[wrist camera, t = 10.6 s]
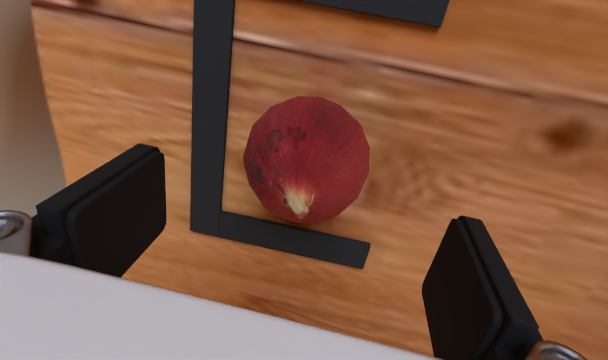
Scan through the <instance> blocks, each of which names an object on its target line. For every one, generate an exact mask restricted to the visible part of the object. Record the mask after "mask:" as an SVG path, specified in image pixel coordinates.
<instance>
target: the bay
mask: <svg viewBox="0 0 608 360" xmlns="http://www.w3.org/2000/svg"><path fill="white" fill-rule="evenodd" d="M298 1H303V2H309V3H314V4H319V5H324V6H330V7H335V8H340V9H346V10H351V11H356V12H362V13H367V14H372V15H378V16H383V17H388V18H393V19H399V20H404V21H409V22H415V23H420V24H425V25H431V26H436V27H441V25H442V22H443V18H444V15H445V12H446V9H447V6H448V3H449V0H298ZM234 8H235V0H194V33H193V93H192V153H191V214H190V231H194V232H198V233H203V234H207V235H212V236H216V237H221V238H225V239H230V240H234V241H239V242H243V243H248V244H252V245H257V246H261V247H265V248H270V249H274V250H279V251H283V252H288V253H292V254H297V255H301V256H306V257H310V258H315V259H319V260H324V261H328V262H333V263H337V264H342V265H346V266H351V267H355V268H360V269H363V267H364V264H365V261H366V258H367V255H368V252H369V249H370V243H367V242H362V241H357V240H353V239H348V238H344V237H339V236H335V235H330V234H326V233H321V232H316V231H312V230H307V229H303V228H298V227H294V226H289V225H284V224H280V223H275V222H271V221H266V220H262V219H257V218H253V217H248V216H243V215H239V214H234V213H230V212H225V211H221V206H222V191H223V176H224V160H225V145H226V130H227V115H228V99H229V84H230V69H231V53H232V38H233V23H234Z"/></svg>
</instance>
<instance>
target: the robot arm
mask: <svg viewBox="0 0 608 360" xmlns="http://www.w3.org/2000/svg"><path fill="white" fill-rule="evenodd" d="M36 209H37V213H38V214H37V215H35V216H34V217H32V218H31V217H30V216H29V215H28V214H26V213H24V212H20V211H13V210H4V211H0V360H587V359H586V358H585V357H583V356H582V355H581V354H580V353H578V352H576V351H575V350H573V349H571V348H569V347H568V346H565V345H563V344H560V343H558V342H554V341H548V340H546V341H544V340H543V338H542V336H541V335H540V333H539V331H538V328H539V326H538V324H537V323H536V321H535V319H534V317H533V315H532V313H531V311H530V310H529V308H528V306H527V304H526V302H525V300H524V298H523V296H522V295H521V293H520V291H519V289H518V287H517V285H516V283H515V282H514V280H513V278H512V276H511V274H510V272H509V270H508V269H507V267H506V265H505V263H504V261H503V259H502V257H501V255H500V254H499V252H498V250H497V248H496V246H495V244H494V242H493V241H492V239H491V237H490V235H489V233H488V231H487V229H486V227H485V226H484V224H483V222H482V221H481V220H479V219H475V218H471V217H466V216H462V215H461V216H459V217H458V219H452V220H451V222H450V224H449V226H448V228H447V230H446V233H445V235H444V237H443V239H442V242H441V244H440V246H439V248H438V250H437V253H436V255H435V257H434V259H433V262H432V264H431V266H430V268H429V271H428V273H427V275H426V277H425V279H424V282H423V285H422V296H423V301H424V306H425V311H426V317H427V322H428V327H429V332H430V337H431V342H432V348H433V353H434V357H432V356H428V355H424V354H420V353H416V352H412V351H408V350H405V349H401V348H397V347H393V346H389V345H385V344H381V343H377V342H374V341H370V340H366V339H362V338H358V337H354V336H350V335H346V334H342V333H339V332H335V331H331V330H327V329H323V328H319V327H315V326H311V325H307V324H304V323H300V322H296V321H292V320H288V319H284V318H280V317H276V316H272V315H268V314H264V313H260V312H256V311H252V310H248V309H244V308H240V307H236V306H232V305H228V304H224V303H220V302H216V301H212V300H208V299H204V298H200V297H197V296H193V295H188V294H184V293H180V292H176V291H172V290H168V289H164V288H160V287H156V286H152V285H148V284H144V283H140V282H136V281H132V280H128V279H124V278H121V277H122V275H123V274H124V273H125V272H126V271H127V270H128V269H129V268H130V267H131V266H132V264H133V263H134V262H135V261H136V260H137V259H138V258H139V257H140V256H141V254H142V253H143V252H144V251H145V250H146V249H147V248H148V247H149V246H150V244H151V243H152V242H153V241H154V240H155V239H156V238H157V237H158V236H159V235H160V233H161V232H162V231H163V230H164V228H165V225H166V191H165V160H164V154H163V153H161V152H160V150H159V148H157V147H154V146H149V145H145V144H137V145H135V146H134V147H132V148H130V149H129V150H127V151H125V152H124V153H122V154H120V155H119V156H117V157H115V158H114V159H112V160H111V161H109V162H107V163H106V164H104V165H102V166H101V167H99V168H97V169H96V170H94V171H92V172H91V173H89V174H87V175H86V176H84V177H83V178H81V179H79V180H78V181H76V182H74V183H73V184H71V185H69V186H68V187H66V188H64V189H63V190H61V191H59V192H58V193H56V194H54V195H53V196H51V197H50V198H48V199H46V200H45V201H43V202H41V203H40V204H38V205H36Z"/></svg>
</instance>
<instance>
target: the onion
mask: <svg viewBox="0 0 608 360" xmlns="http://www.w3.org/2000/svg"><path fill="white" fill-rule="evenodd" d="M369 150H370V148H369V145H368V143H367V140H366V137H365V135H364V132H363V130H362V127H361V124H360V123H359V122H357V121H356V120H355V119H354V118H353V117H352V116H351V115H350V114H349V113H348V112H347V111H346V110H345V109H344V108H343V107H342V106H341V105H338V104H336V103H333V102H331V101H329V100H326V99H324V98H321V97H302V96H298V97H295V98H293V99H290V100H287V101H285V102H282V103H279V104H277V105H274V106H272V107H270V108H269V109H268V111H267V112H266V113H265V114H264V115H263V116H262V117H261V118H260V119H259V120H258V121H257V122H256V123H255V124H254V125H253V127H252V129H251V132H250V135H249V139H248V142H247V145H246V149H245V152H244V155H243V159H244V166H245V170H246V174H247V178H248V181H249V185H250V186H251V188H252V189H253V191H254V192H255V194H256V195H257V196H258V198H259V200H260V201H261V203H262V205H263V206H264V207H265V208H267V209H268V210H270V211H271V212H272V213H274V214H275V215H276V216H278V217H279V218H282V219H286V220H289V221H292V222H296V223H319V222H322V221H324V220H327V219H329V218H332V217H334V216H337V215H339V214H340V213H341V212H342V211H343V210H344V209H345V208H347V207H348V206H349V205H350V204H351V203H352V202H353V201H354V200H355V199H356V198H357V197H358V195H359V193H360V191H361V189H362V187H363V184H364V182H365V180H366V178H367V175H368V172H369Z"/></svg>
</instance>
